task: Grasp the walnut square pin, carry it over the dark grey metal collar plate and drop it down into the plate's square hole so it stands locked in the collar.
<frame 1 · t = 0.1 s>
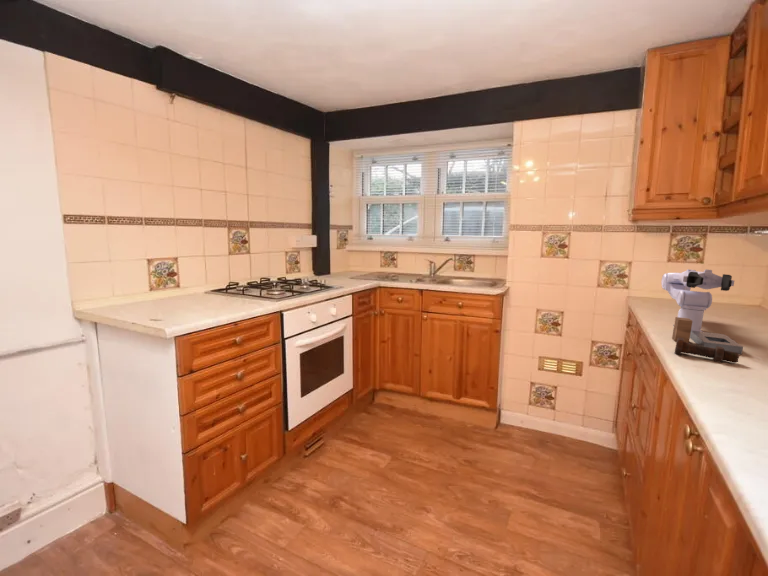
hand: (715, 282, 134), 22 cm above the countertop, tool horizontal, fingers open, 7 cm apart
pin: (680, 341, 140), on the countertop
collar plate: (715, 346, 135), on the countertop
bolt: (704, 359, 122), on the countertop
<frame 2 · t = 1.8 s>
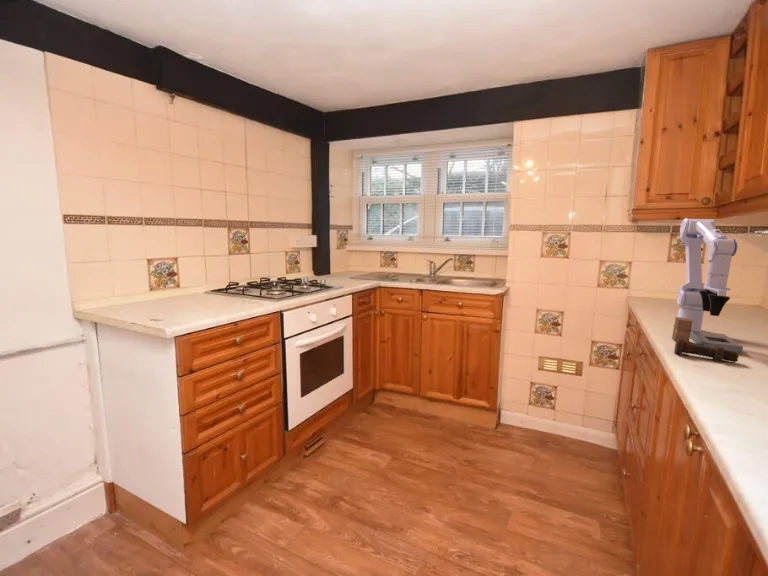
hand: (710, 313, 138), 10 cm above the countertop, tool pointing down, fingers open, 7 cm apart
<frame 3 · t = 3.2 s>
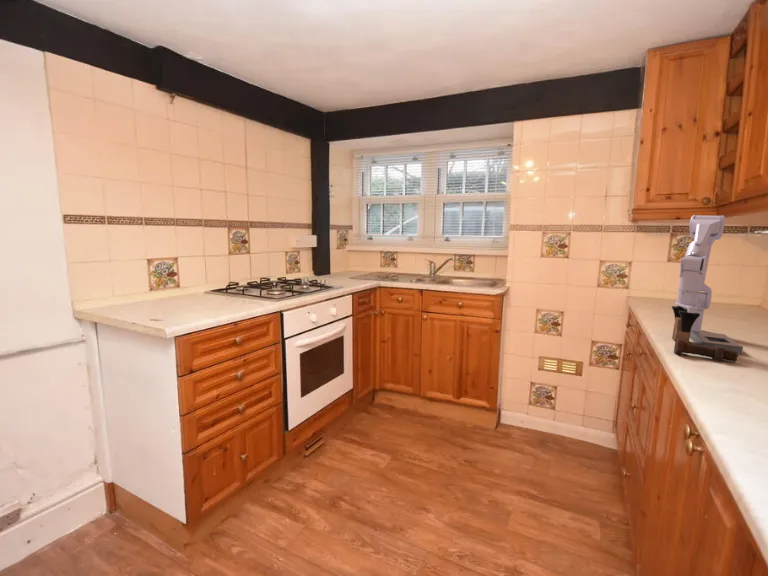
hand: (682, 329, 139), 4 cm above the countertop, tool pointing down, fingers open, 7 cm apart
nothing on the countertop moved.
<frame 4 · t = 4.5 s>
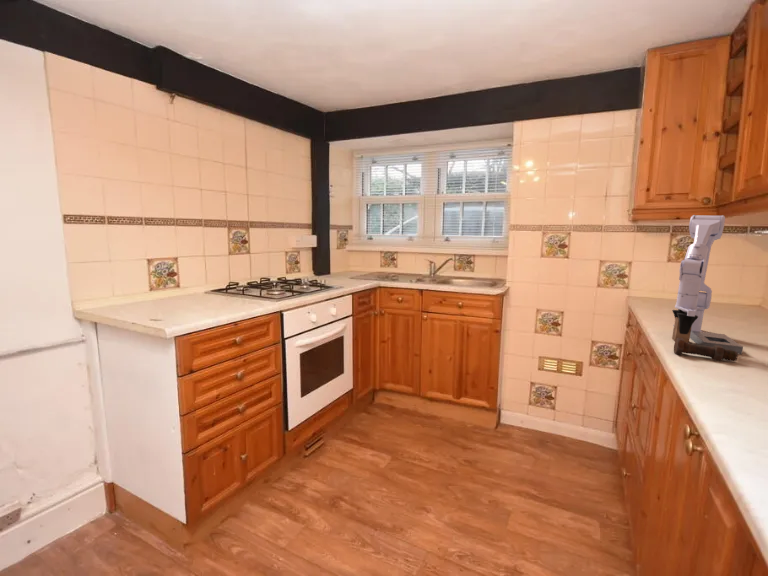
hand: (681, 332, 140), 3 cm above the countertop, tool pointing down, fingers closed on pin, 4 cm apart
pin: (680, 341, 140), on the countertop, touching gripper
everything else where it was.
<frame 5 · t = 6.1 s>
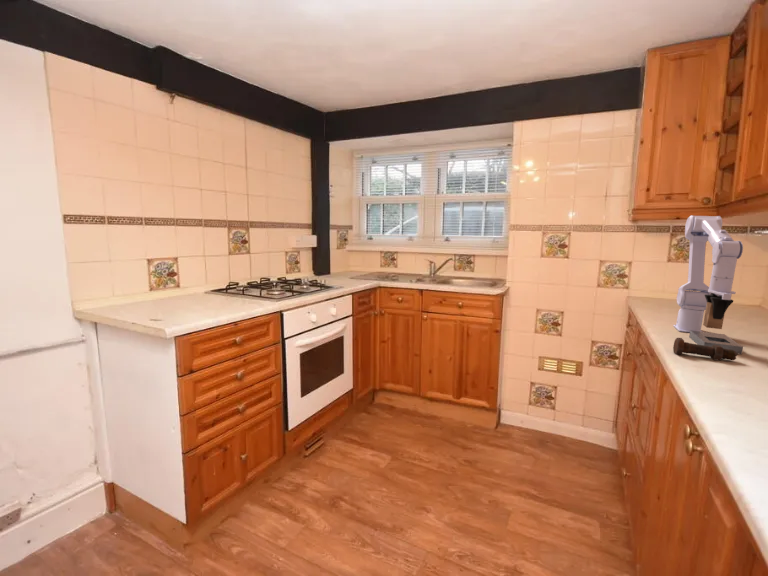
hand: (714, 317, 134), 10 cm above the countertop, tool pointing down, fingers closed on pin, 4 cm apart
pin: (712, 327, 135), point 7 cm above the countertop, touching gripper
when the fingers open (5 cm above the countertop, at t = 8.0 s): pin drops 1 cm, resting in collar plate.
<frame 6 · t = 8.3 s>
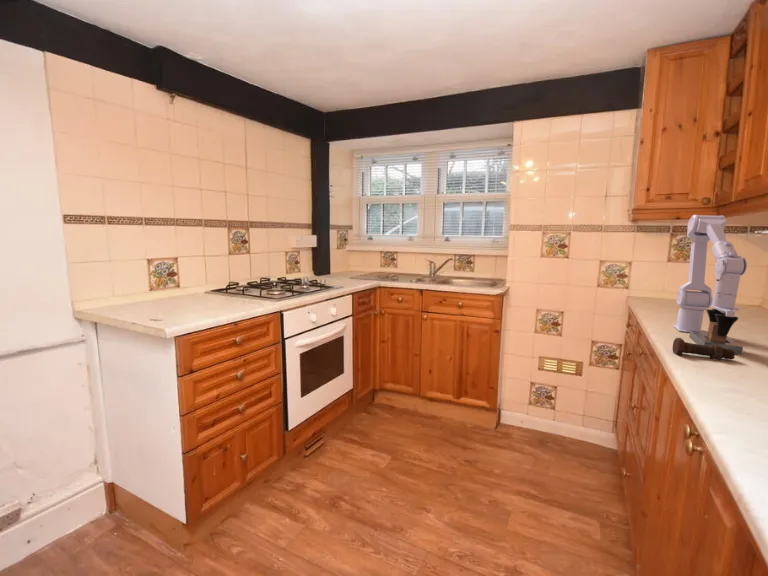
hand: (718, 333, 134), 5 cm above the countertop, tool pointing down, fingers open, 6 cm apart
pin: (714, 346, 135), resting in collar plate
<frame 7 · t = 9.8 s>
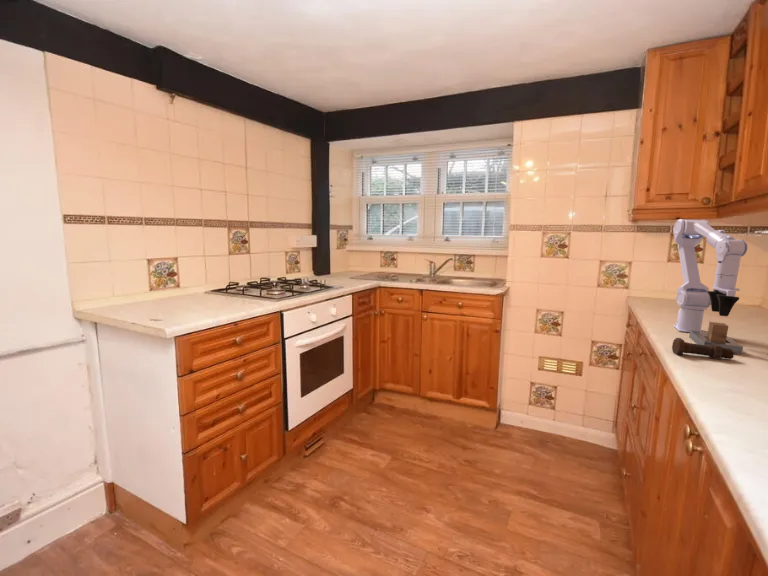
hand: (719, 313, 138), 10 cm above the countertop, tool pointing down, fingers open, 7 cm apart
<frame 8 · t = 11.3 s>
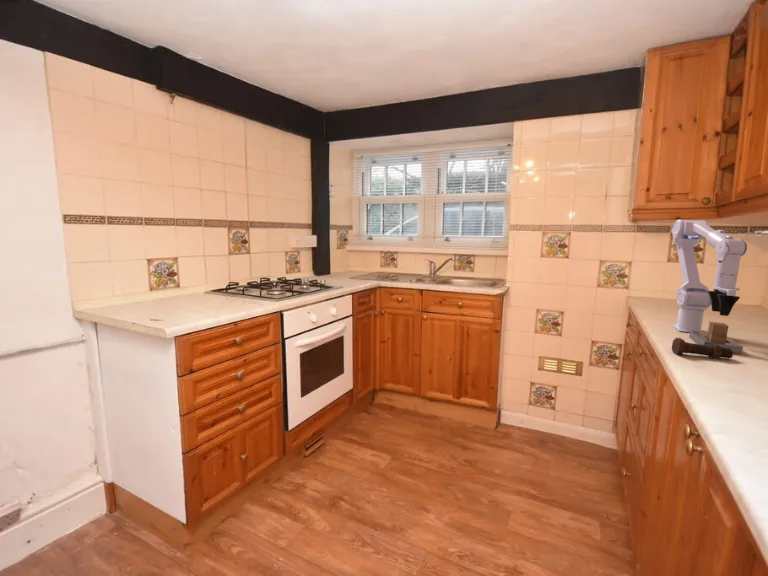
hand: (719, 313, 138), 10 cm above the countertop, tool pointing down, fingers open, 7 cm apart
at the end: pin 0.3 cm off-centre on the collar plate, point 0.0 cm above the collar plate's base; pin tilted 0°; the gripper is holding nothing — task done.
